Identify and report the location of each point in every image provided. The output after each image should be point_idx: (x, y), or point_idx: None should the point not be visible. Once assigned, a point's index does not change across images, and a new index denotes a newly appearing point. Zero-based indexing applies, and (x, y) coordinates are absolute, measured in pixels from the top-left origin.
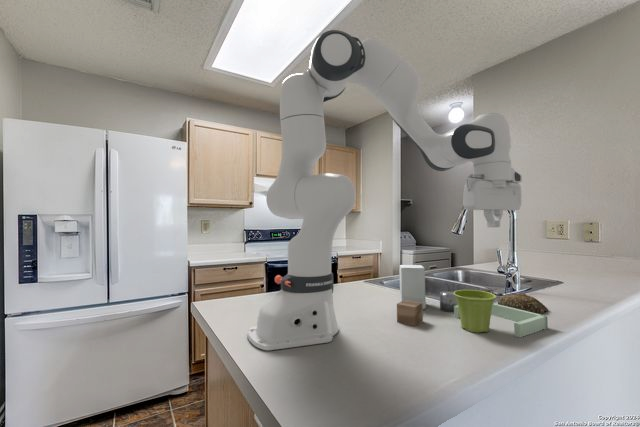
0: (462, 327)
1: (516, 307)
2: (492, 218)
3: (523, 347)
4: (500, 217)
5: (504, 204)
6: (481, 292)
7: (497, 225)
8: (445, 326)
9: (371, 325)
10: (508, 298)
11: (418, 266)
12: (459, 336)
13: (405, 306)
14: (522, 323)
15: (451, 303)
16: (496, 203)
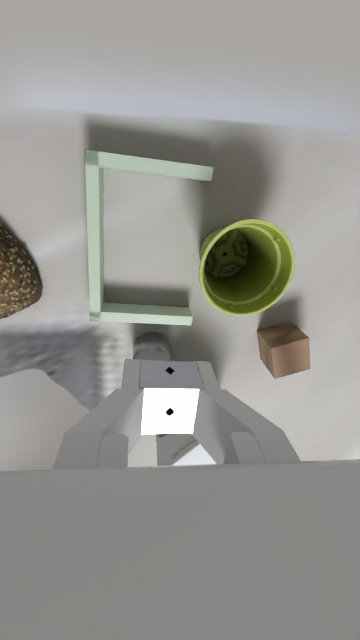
0: (241, 268)
1: (24, 260)
2: (242, 402)
3: (255, 141)
4: (118, 406)
5: (42, 556)
6: (202, 275)
7: (161, 364)
8: None
9: (334, 359)
10: (9, 289)
11: (192, 463)
12: None
13: (308, 352)
14: (199, 166)
15: (164, 345)
16: (319, 551)
